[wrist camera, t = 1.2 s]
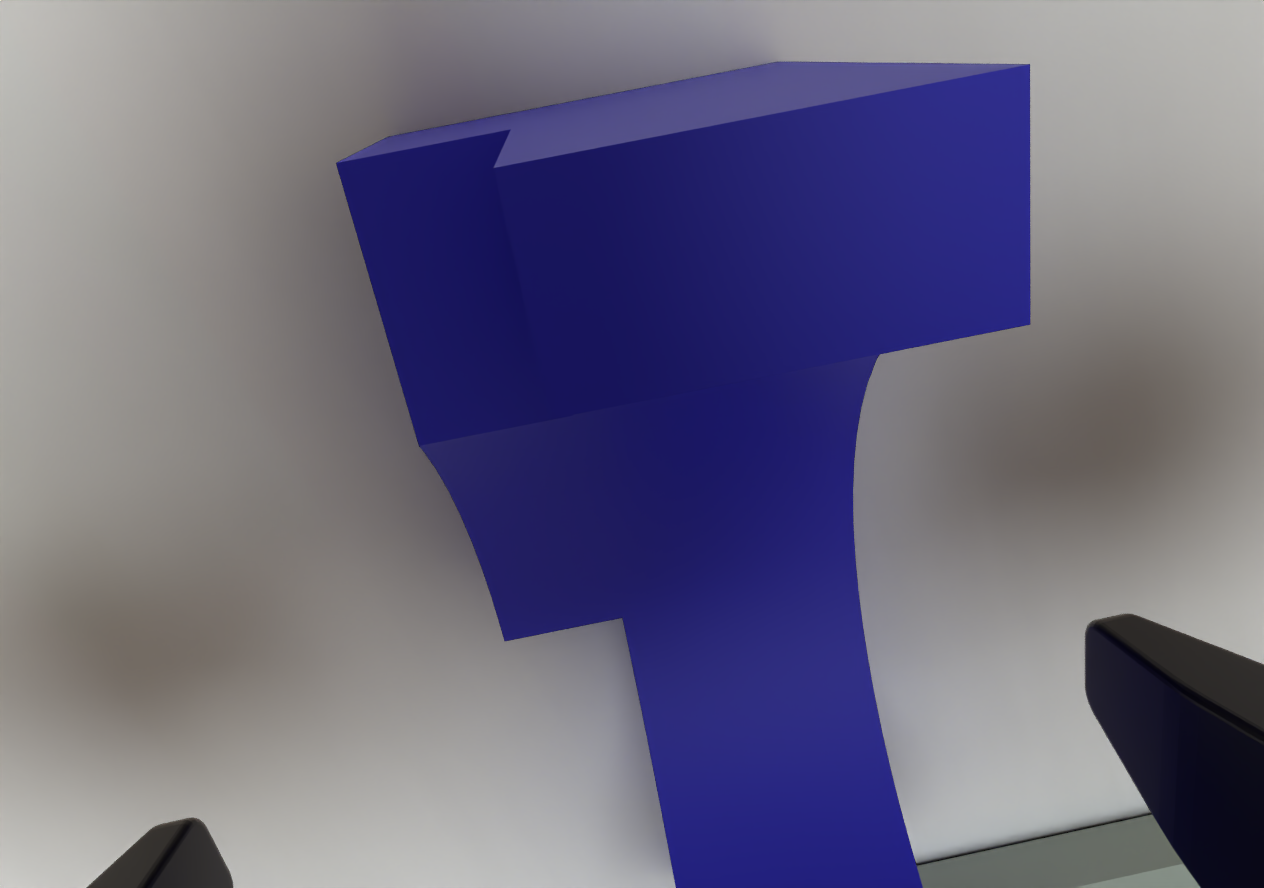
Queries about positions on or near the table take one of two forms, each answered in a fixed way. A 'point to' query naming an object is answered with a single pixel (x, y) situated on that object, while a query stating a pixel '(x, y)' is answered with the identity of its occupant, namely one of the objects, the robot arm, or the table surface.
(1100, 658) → the robot arm
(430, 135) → the blue flanged block
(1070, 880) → the grey fixture base
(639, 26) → the table surface
